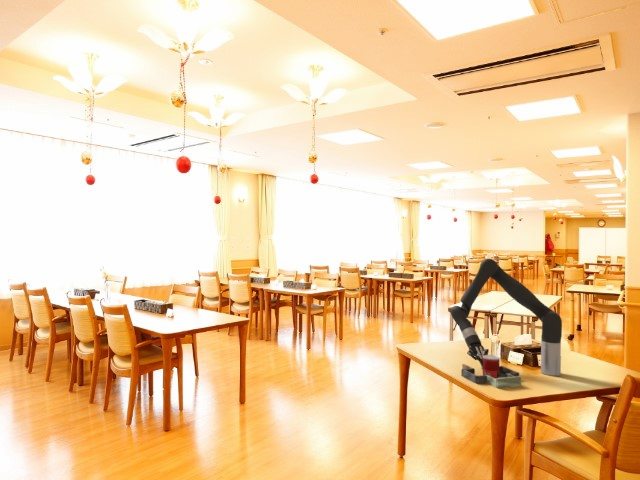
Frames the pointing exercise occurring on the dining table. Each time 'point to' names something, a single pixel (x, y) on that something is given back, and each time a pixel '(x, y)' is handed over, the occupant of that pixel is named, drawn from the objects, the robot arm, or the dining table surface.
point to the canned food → (491, 366)
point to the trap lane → (506, 377)
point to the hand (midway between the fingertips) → (485, 366)
